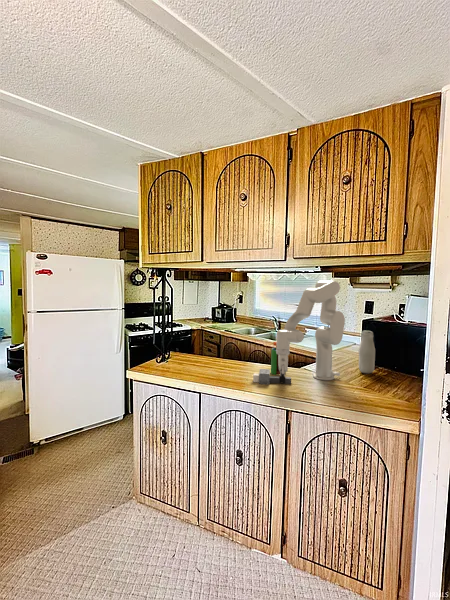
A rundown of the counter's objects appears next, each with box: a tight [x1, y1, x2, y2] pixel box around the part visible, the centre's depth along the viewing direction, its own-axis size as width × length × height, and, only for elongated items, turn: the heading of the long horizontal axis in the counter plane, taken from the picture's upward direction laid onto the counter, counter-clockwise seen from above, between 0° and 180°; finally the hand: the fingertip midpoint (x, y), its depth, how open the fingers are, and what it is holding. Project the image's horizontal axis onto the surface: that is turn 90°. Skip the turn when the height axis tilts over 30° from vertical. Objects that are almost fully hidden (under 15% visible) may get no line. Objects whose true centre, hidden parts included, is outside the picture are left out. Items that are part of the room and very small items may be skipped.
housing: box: [258, 368, 271, 386], centre depth 196 cm, size 6×10×6 cm, turn 172°
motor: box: [270, 341, 287, 376], centre depth 215 cm, size 10×9×20 cm
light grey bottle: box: [358, 330, 376, 375], centre depth 216 cm, size 10×10×28 cm
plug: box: [252, 372, 292, 385], centre depth 196 cm, size 22×4×4 cm, turn 82°
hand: (282, 381), depth 195 cm, fingers closed on plug, 3 cm apart
